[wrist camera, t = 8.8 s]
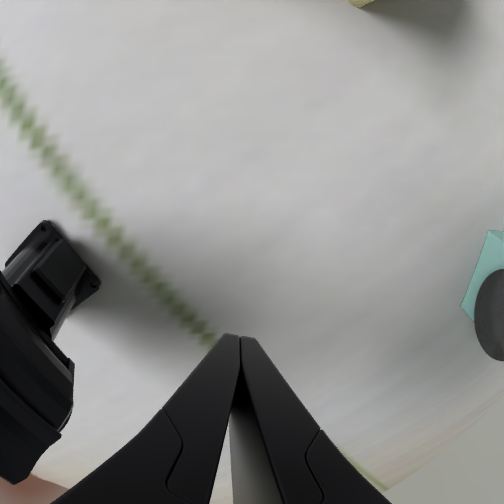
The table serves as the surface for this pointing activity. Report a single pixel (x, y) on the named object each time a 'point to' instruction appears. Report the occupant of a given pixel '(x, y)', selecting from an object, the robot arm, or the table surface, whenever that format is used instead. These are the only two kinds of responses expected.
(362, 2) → the toy sofa
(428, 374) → the table surface
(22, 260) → the robot arm
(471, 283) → the block
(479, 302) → the plunger
